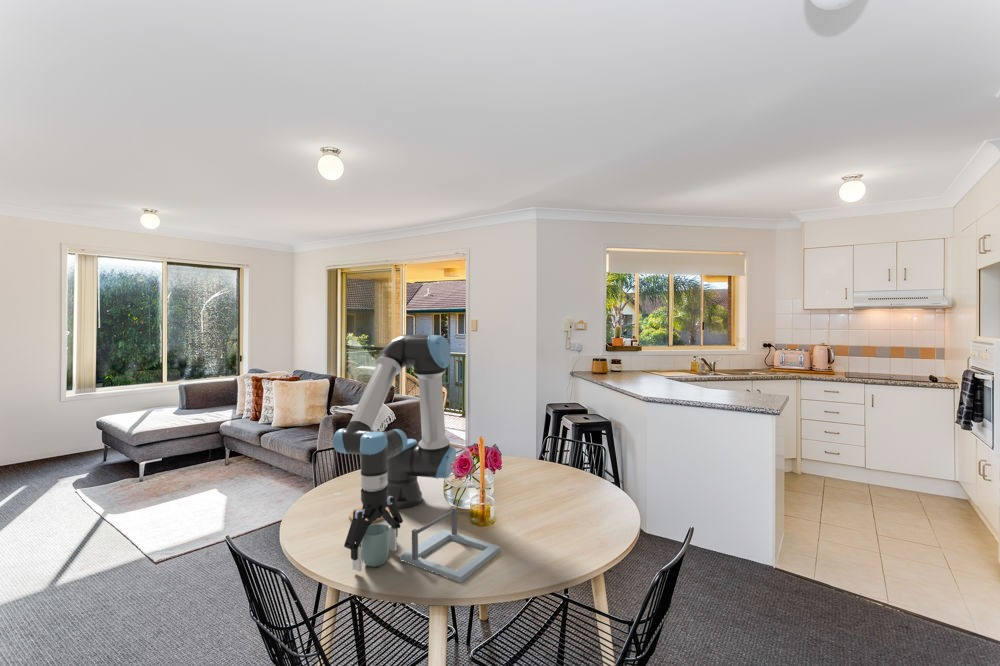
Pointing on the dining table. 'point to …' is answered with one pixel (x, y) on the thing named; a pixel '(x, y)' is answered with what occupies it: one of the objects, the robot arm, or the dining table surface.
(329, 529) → the dining table surface
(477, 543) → the towel rail frame
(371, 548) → the cup
